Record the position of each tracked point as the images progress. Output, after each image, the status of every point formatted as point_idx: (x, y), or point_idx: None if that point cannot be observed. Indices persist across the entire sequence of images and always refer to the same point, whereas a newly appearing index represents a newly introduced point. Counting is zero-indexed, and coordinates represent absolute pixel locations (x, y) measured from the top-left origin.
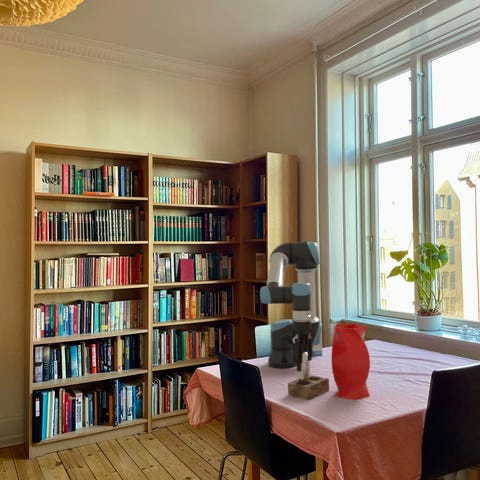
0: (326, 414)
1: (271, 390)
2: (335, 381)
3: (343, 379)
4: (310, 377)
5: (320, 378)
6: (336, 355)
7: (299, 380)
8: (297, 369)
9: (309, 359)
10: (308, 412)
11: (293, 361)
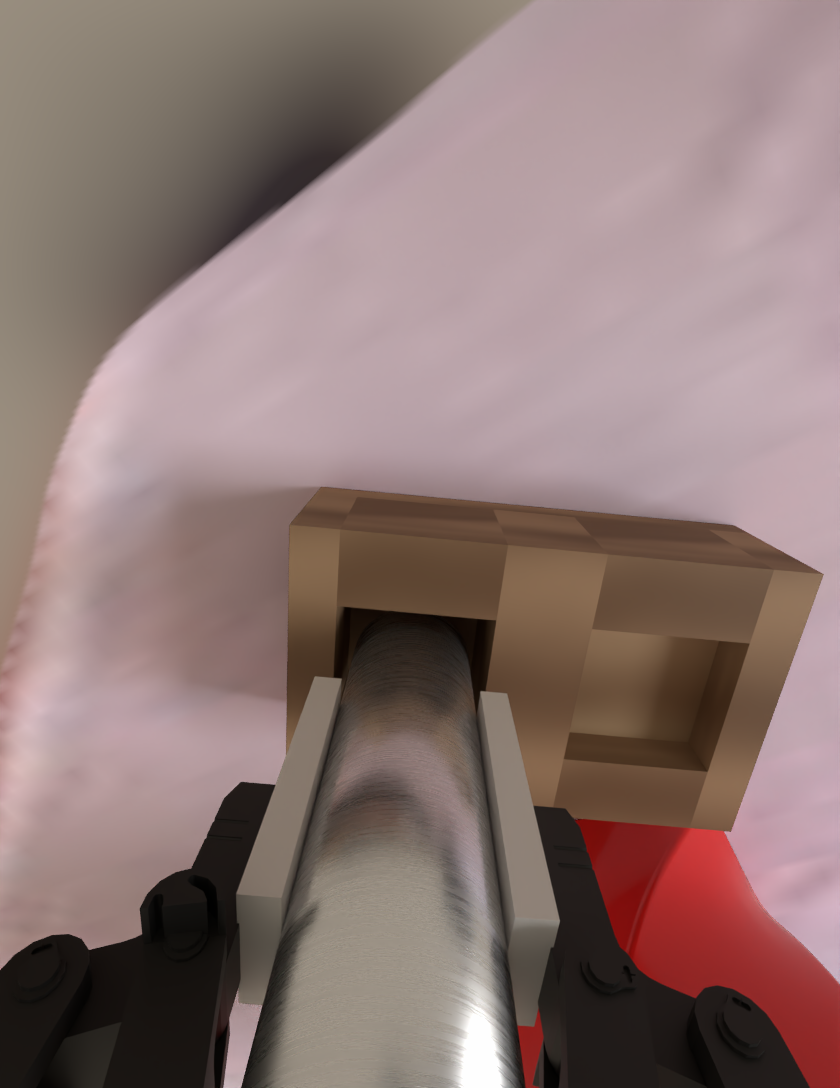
0: (105, 910)
1: (384, 198)
2: (627, 920)
3: (533, 1076)
4: (715, 638)
5: (711, 752)
6: None
7: (348, 680)
8: (219, 821)
9: (541, 1069)
10: (51, 812)
11: (28, 955)
